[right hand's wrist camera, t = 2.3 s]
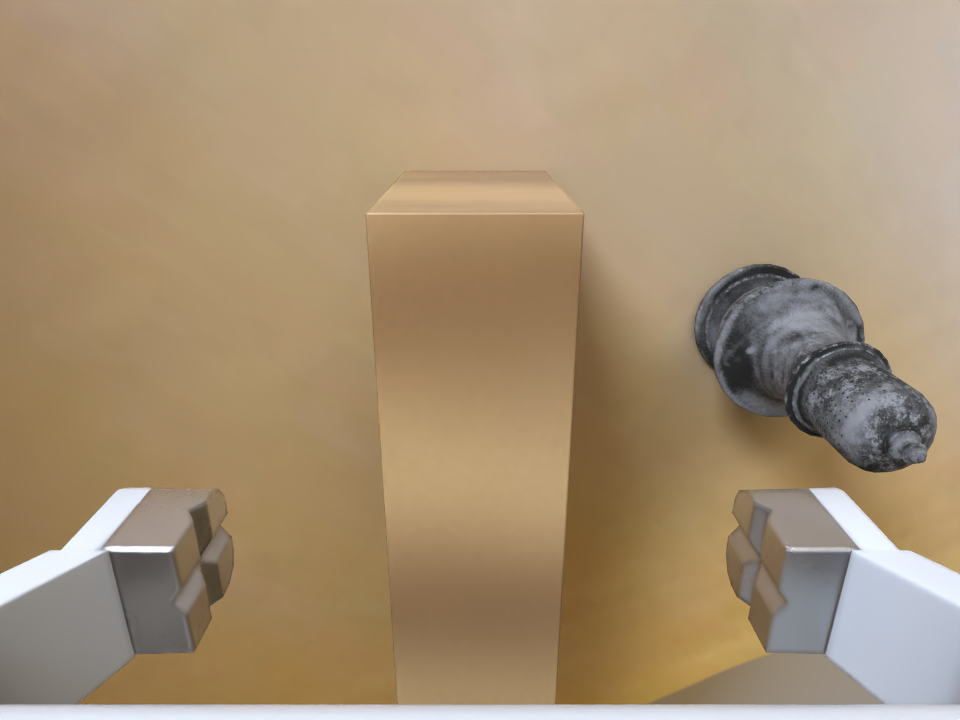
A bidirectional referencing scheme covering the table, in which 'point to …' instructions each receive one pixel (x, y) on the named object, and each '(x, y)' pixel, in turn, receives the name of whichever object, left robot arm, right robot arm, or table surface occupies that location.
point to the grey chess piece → (811, 366)
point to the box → (475, 426)
